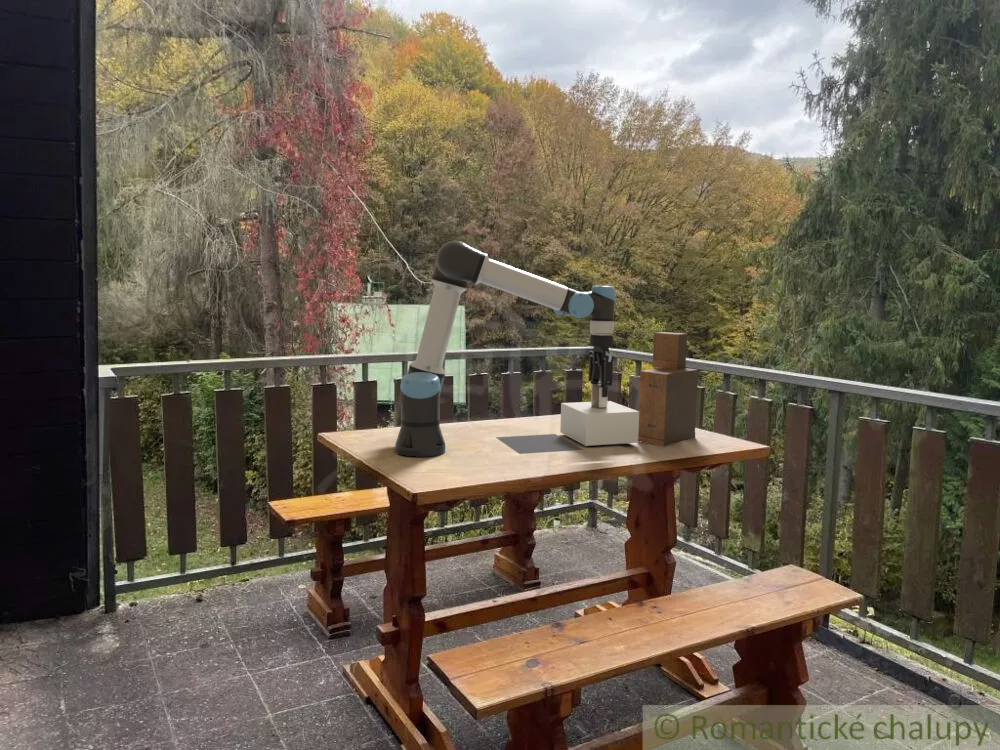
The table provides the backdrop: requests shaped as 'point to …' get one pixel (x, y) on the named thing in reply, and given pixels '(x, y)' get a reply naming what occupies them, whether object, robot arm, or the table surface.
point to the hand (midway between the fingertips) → (599, 405)
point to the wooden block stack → (668, 393)
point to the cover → (599, 422)
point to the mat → (538, 443)
